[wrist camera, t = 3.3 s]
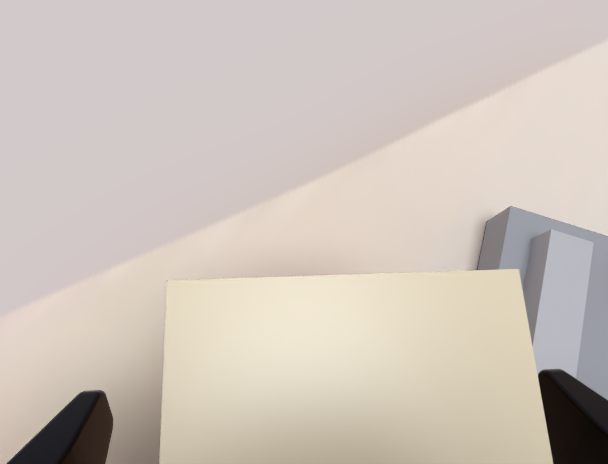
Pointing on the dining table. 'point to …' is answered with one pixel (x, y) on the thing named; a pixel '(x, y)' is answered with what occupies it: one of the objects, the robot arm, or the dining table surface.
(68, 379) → the dining table surface
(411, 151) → the dining table surface
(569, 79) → the dining table surface
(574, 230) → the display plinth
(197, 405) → the cream-topped square box
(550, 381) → the robot arm
